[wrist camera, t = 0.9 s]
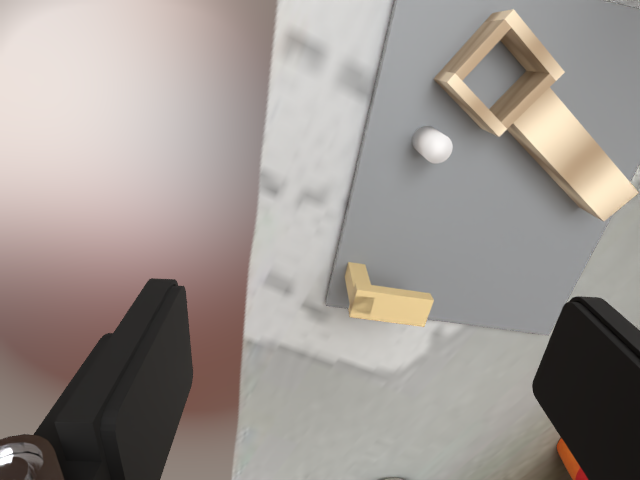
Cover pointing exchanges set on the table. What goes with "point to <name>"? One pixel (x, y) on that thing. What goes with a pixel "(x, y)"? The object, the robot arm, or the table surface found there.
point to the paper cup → (570, 462)
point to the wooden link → (538, 116)
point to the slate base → (480, 170)
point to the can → (393, 479)
